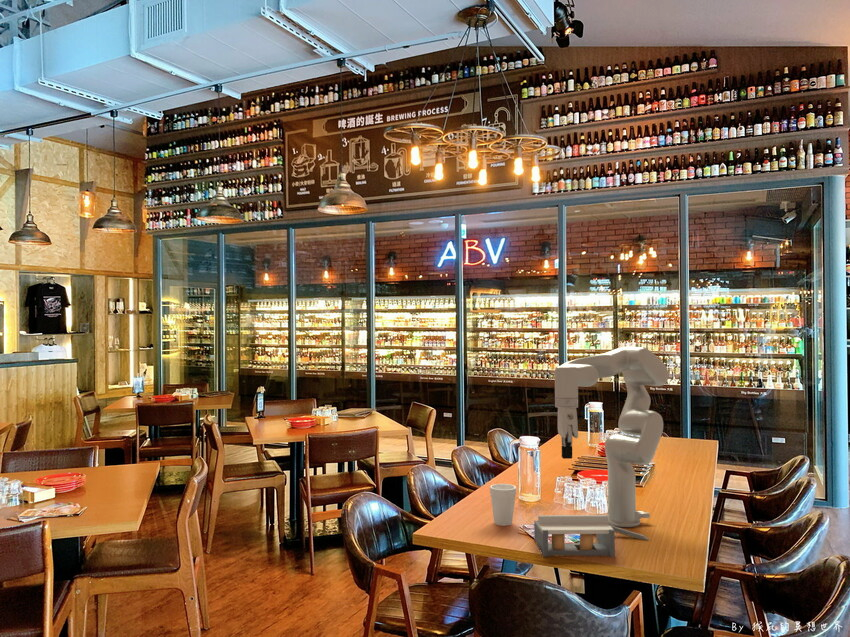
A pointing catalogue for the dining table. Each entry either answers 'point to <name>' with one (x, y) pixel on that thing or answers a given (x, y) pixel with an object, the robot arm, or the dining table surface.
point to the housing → (574, 544)
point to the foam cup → (503, 503)
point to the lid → (574, 524)
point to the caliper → (629, 533)
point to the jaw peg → (586, 542)
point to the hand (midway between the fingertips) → (567, 458)
